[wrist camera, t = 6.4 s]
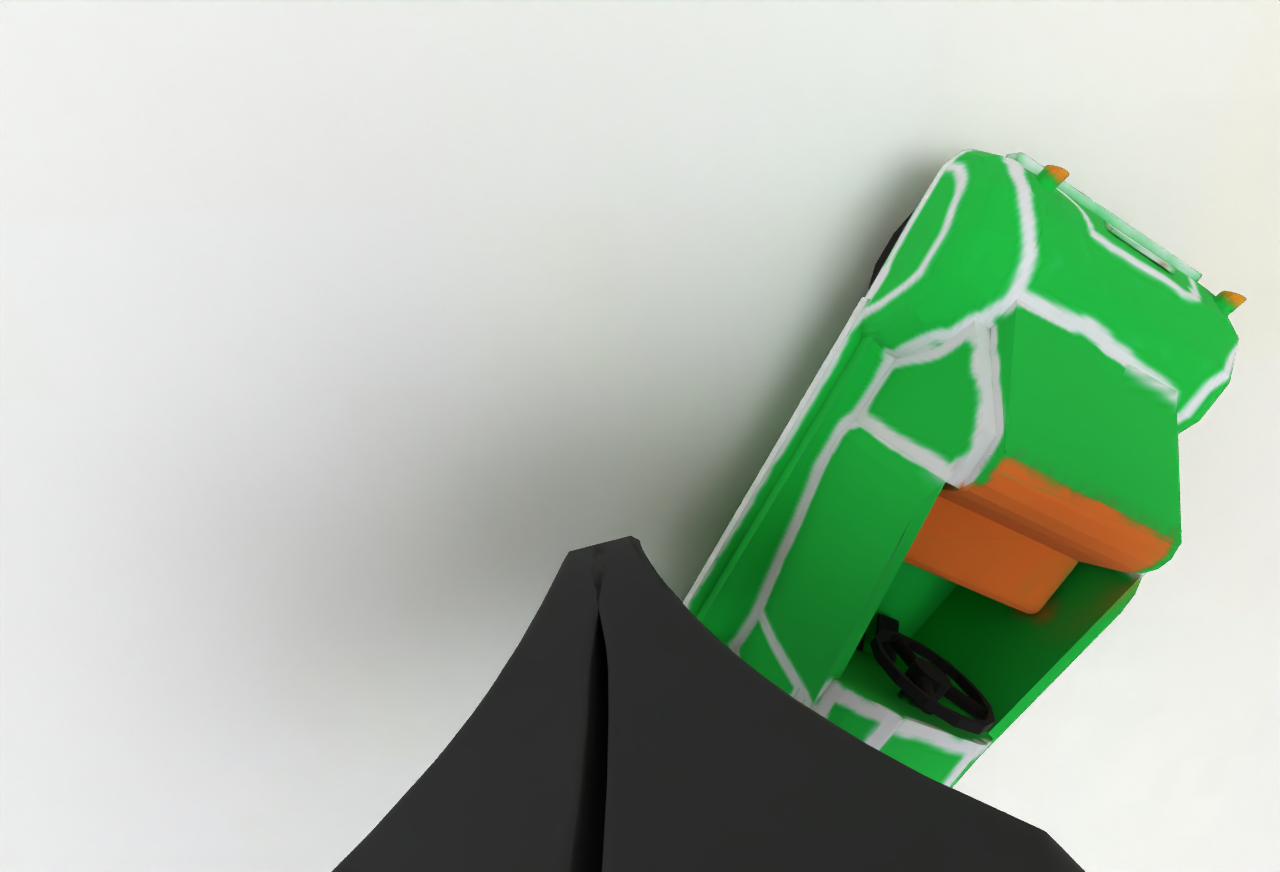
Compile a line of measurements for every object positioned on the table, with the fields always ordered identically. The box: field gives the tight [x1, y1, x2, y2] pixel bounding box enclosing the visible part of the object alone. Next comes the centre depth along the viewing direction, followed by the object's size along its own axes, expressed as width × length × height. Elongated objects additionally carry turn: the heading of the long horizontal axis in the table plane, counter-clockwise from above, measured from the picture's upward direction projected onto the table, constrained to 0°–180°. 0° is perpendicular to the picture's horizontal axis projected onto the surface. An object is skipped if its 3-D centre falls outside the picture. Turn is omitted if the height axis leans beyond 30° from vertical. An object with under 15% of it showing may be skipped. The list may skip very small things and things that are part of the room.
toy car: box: [683, 150, 1246, 788], centre depth 9 cm, size 12×5×4 cm, turn 154°
